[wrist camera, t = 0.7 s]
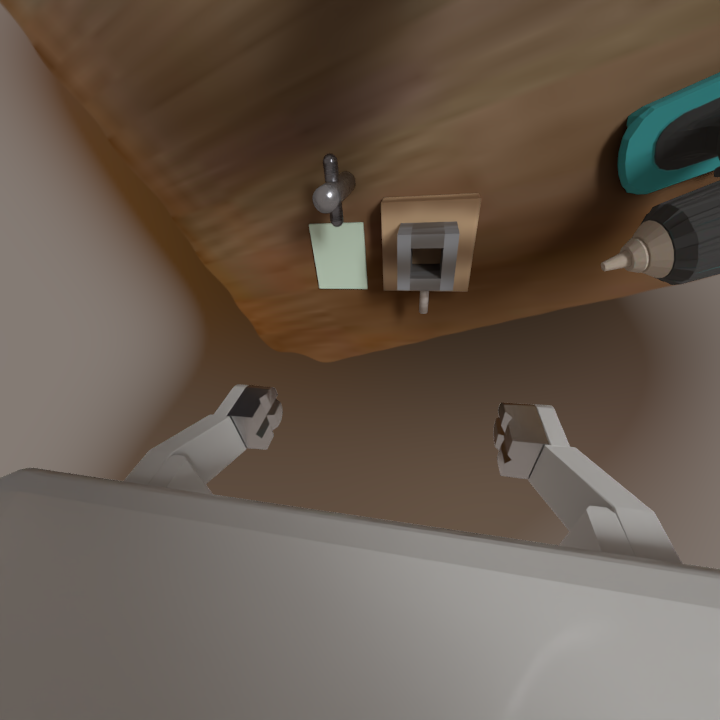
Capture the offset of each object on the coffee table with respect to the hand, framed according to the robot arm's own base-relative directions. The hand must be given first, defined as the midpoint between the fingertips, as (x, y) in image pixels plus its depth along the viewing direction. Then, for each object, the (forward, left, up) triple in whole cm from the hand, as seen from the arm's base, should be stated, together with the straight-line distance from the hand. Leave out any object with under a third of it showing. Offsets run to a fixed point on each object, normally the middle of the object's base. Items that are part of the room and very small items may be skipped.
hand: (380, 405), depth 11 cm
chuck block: (+6, +2, -38) cm, 38 cm away
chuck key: (-2, -9, -38) cm, 39 cm away
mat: (+8, -11, -38) cm, 40 cm away
